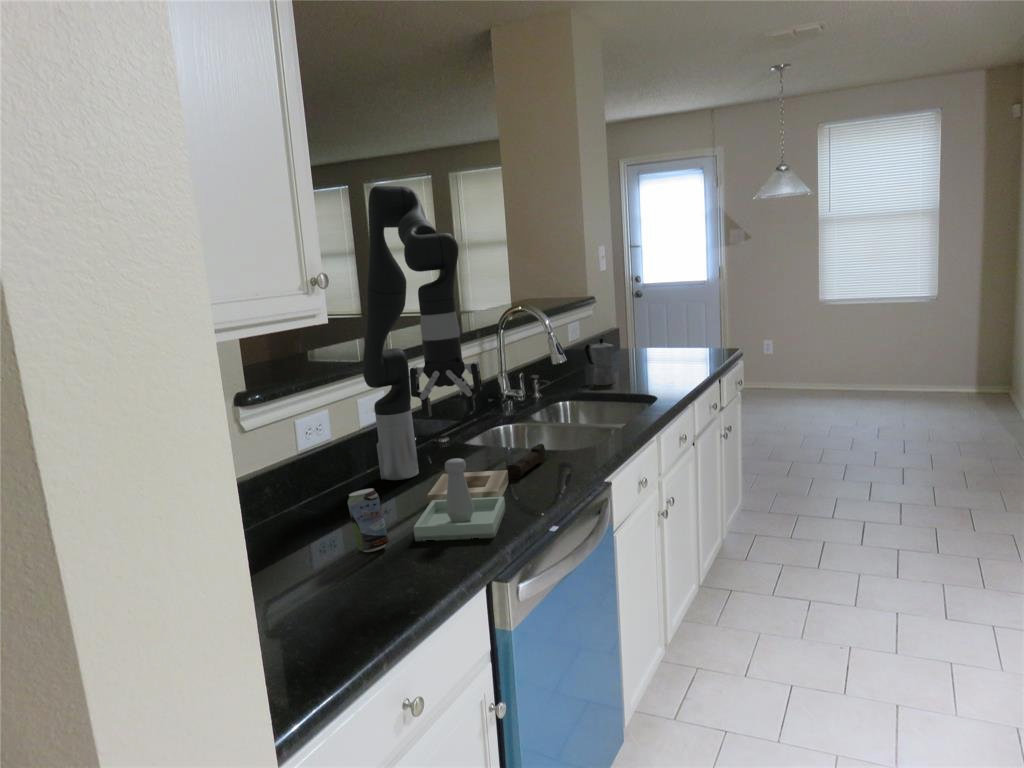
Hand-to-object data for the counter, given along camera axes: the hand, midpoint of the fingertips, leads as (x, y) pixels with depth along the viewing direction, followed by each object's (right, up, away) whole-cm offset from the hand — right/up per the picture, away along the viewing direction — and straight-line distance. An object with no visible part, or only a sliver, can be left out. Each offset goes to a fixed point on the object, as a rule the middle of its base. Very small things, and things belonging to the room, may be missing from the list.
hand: (449, 415), depth 155 cm
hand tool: (+17, -16, +41) cm, 47 cm away
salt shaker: (+2, -22, +4) cm, 23 cm away
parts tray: (+2, -23, +4) cm, 23 cm away
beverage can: (-15, -26, -4) cm, 31 cm away
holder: (+3, -19, +24) cm, 31 cm away
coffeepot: (+49, +6, +148) cm, 156 cm away
